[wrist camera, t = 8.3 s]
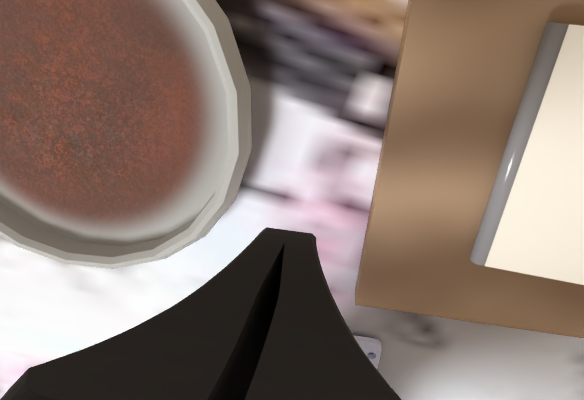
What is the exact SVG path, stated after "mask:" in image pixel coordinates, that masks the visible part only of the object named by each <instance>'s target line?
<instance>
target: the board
mask: <svg viewBox="0 0 584 400" xmlns="http://www.w3.org/2000/svg"><path fill="white" fill-rule="evenodd" d="M546 21H549V22H560V23H571V24H582V25H584V0H409V1H408V7H407V12H406V18H405V23H404V29H403V34H402V39H401V45H400V50H399V56H398V61H397V66H396V72H395V77H394V83H393V88H392V94H391V99H390V104H389V110H388V115H387V121H386V126H385V131H384V137H383V142H382V148H381V153H380V159H379V164H378V169H377V175H376V180H375V186H374V191H373V196H372V202H371V207H370V213H369V218H368V224H367V229H366V234H365V240H364V245H363V251H362V256H361V261H360V267H359V272H358V278H357V283H356V289H355V305H361V306H367V307H374V308H381V309H388V310H395V311H402V312H408V313H415V314H422V315H429V316H436V317H443V318H450V319H456V320H463V321H470V322H477V323H484V324H491V325H497V326H504V327H511V328H518V329H525V330H532V331H539V332H545V333H552V334H559V335H566V336H573V337H580V338H584V285H581V284H576V283H570V282H565V281H560V280H555V279H550V278H544V277H539V276H534V275H529V274H523V273H518V272H513V271H508V270H503V269H497V268H492V267H487V266H485V265H477V264H475V263H473V262H472V261H471V260H470V254H471V251H472V248H473V245H474V242H475V239H476V236H477V233H478V230H479V227H480V224H481V221H482V218H483V214H484V211H485V208H486V205H487V202H488V199H489V196H490V193H491V190H492V187H493V184H494V181H495V178H496V175H497V172H498V168H499V165H500V162H501V159H502V156H503V153H504V150H505V147H506V144H507V141H508V138H509V135H510V132H511V129H512V126H513V123H514V119H515V116H516V113H517V110H518V107H519V104H520V101H521V98H522V95H523V92H524V89H525V86H526V83H527V80H528V77H529V73H530V70H531V67H532V64H533V61H534V58H535V55H536V52H537V49H538V46H539V43H540V40H541V37H542V34H543V31H544V27H545V24H546Z"/></svg>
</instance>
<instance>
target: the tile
mask: <svg viewBox="0 0 584 400" xmlns="http://www.w3.org/2000/svg"><path fill="white" fill-rule="evenodd" d="M470 260H471V261H472V262H473V263H475V264H477V265H485V266H487V267H492V268H497V269H503V270H508V271H513V272H518V273H523V274H529V275H534V276H539V277H544V278H550V279H555V280H560V281H565V282H570V283H576V284H581V285H584V25H582V24H571V23H560V22H549V21H546V24H545V27H544V31H543V34H542V37H541V40H540V43H539V46H538V49H537V52H536V55H535V58H534V61H533V64H532V67H531V70H530V73H529V77H528V80H527V83H526V86H525V89H524V92H523V95H522V98H521V101H520V104H519V107H518V110H517V113H516V116H515V119H514V123H513V126H512V129H511V132H510V135H509V138H508V141H507V144H506V147H505V150H504V153H503V156H502V159H501V162H500V165H499V168H498V172H497V175H496V178H495V181H494V184H493V187H492V190H491V193H490V196H489V199H488V202H487V205H486V208H485V211H484V214H483V218H482V221H481V224H480V227H479V230H478V233H477V236H476V239H475V242H474V245H473V248H472V251H471V254H470Z"/></svg>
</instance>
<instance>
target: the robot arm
mask: <svg viewBox="0 0 584 400" xmlns="http://www.w3.org/2000/svg"><path fill="white" fill-rule="evenodd" d="M371 352H372V353H374V354H369V353H371ZM381 352H382V344H381V342H380V341H379V340H378V339H375V338H368V337H362V336H355V335H352V333H351V331H350V330H349V328H348V326H347V324H346V323H345V321H344V319H343V317H342V315H341V313H340V311H339V309H338V307H337V305H336V303H335V301H334V299H333V297H332V294H331V292H330V290H329V287H328V285H327V282H326V279H325V276H324V274H323V271H322V268H321V264H320V261H319V257H318V252H317V247H316V237H315V236H314V235H313V234H311V233H303V232H296V231H288V230H281V229H273V228H265V229H264V230H263V231H262V232H261V233H260V234H259V235H258V236H257V237H256V238H255V239H254V240H253V241H252V242H251V243H250V244H249V245H248V246H247V247H246V248H245V249H244V250H243V251H242V252H241V253H240V254H239V255H238V256H237V257H236V258H235V259H234V260H233V261H232V262H231V263H230V264H228V265H227V266H226V267H225V268H224V269H223V270H222V271H220V272H219V273H218V274H217V275H215V276H214V277H213V278H212V279H210V280H209V281H208V282H207V283H205V284H204V285H203V286H202V287H200V288H199V289H198V290H196V291H195V292H193V293H192V294H191V295H189V296H188V297H186V298H185V299H183V300H182V301H180V302H179V303H177V304H175V305H174V306H172V307H171V308H169V309H167V310H165V311H164V312H162V313H160V314H158V315H156V316H154V317H152V318H151V319H149V320H147V321H145V322H143V323H141V324H140V325H138V326H136V327H134V328H131V329H129V330H127V331H125V332H123V333H121V334H119V335H116V336H114V337H112V338H109V339H107V340H105V341H102V342H100V343H98V344H95V345H93V346H90V347H88V348H85V349H83V350H80V351H77V352H74V353H71V354H69V355H66V356H63V357H60V358H57V359H54V360H52V361H49V362H46V363H43V364H40V365H37V366H34V367H31V368H29V369H28V370H27V371H26V372H25V373H24V374H23V375H22V376H21V377H20V378H19V379H18V380H17V381H16V382H15V383H14V384H13V385H12V386H11V388H10V389H9V390H8V391H7V392H6V393H5V395H4V396H3V397H2V398H1V399H0V400H401V399H400V397H399V396H398V395H397V394H396V393H395V392H394V391H393V389H392V388H391V387H390V386H389V385H388V384H387V382H386V381H385V380H384V378H383V377H382V376H381V374H380V373H379V372H378V370H377V368H378V364H379V360H380V356H381Z"/></svg>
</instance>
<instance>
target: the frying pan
mask: <svg viewBox="0 0 584 400" xmlns="http://www.w3.org/2000/svg"><path fill="white" fill-rule="evenodd" d="M251 151H252V124H251V86H250V83H249V80H248V77H247V74H246V71H245V68H244V65H243V62H242V59H241V56H240V53H239V50H238V47H237V44H236V41H235V37H234V34H233V31H232V28H231V25H230V22H229V19H228V18H227V16H226V15H225V13H224V12H223V10H222V9H221V7H220V6H219V4H218V3H217V1H216V0H0V236H2V237H4V238H5V239H7V240H8V241H10V242H12V243H13V244H15V245H16V246H18V247H20V248H23V249H26V250H29V251H32V252H34V253H37V254H40V255H43V256H45V257H48V258H51V259H54V260H56V261H59V262H62V263H65V264H72V265H82V266H91V267H101V268H110V269H114V268H119V267H125V266H130V265H135V264H141V263H146V262H152V261H157V260H161V259H165V258H168V257H169V256H171V255H173V254H175V253H176V252H178V251H180V250H182V249H184V248H185V247H187V246H189V245H191V244H192V243H194V242H196V241H198V240H199V239H201V238H203V237H205V236H206V235H207V234H208V232H209V231H210V230H211V229H212V227H213V226H214V225H215V224H216V223H217V221H218V220H219V219H220V218H221V216H222V215H223V214H224V213H225V212H226V210H227V209H228V208H229V207H230V205H231V204H232V203H233V202H234V201H235V199H236V196H237V193H238V190H239V187H240V184H241V181H242V178H243V175H244V172H245V169H246V166H247V163H248V160H249V157H250V154H251Z"/></svg>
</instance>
